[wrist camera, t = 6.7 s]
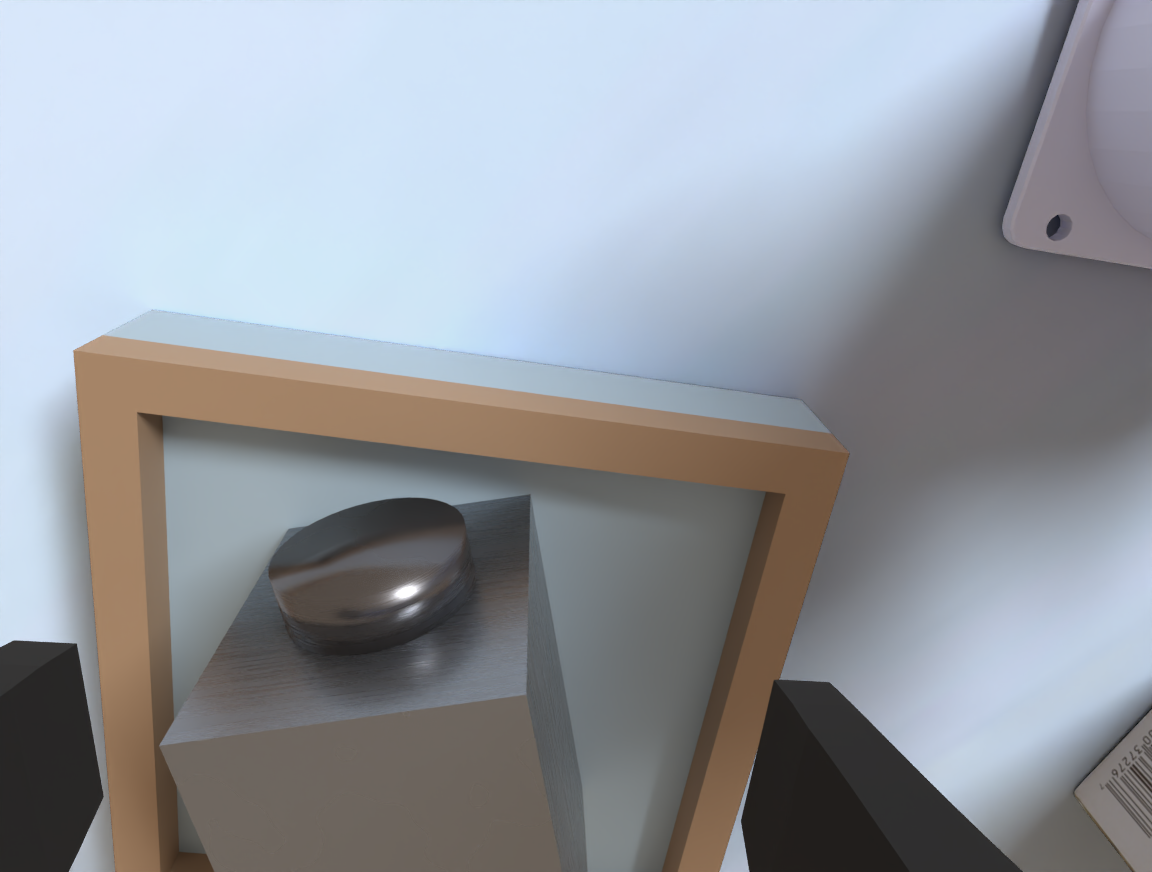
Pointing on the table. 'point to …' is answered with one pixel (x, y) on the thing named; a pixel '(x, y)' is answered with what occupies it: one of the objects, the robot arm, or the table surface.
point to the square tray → (455, 476)
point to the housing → (388, 703)
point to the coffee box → (1124, 797)
